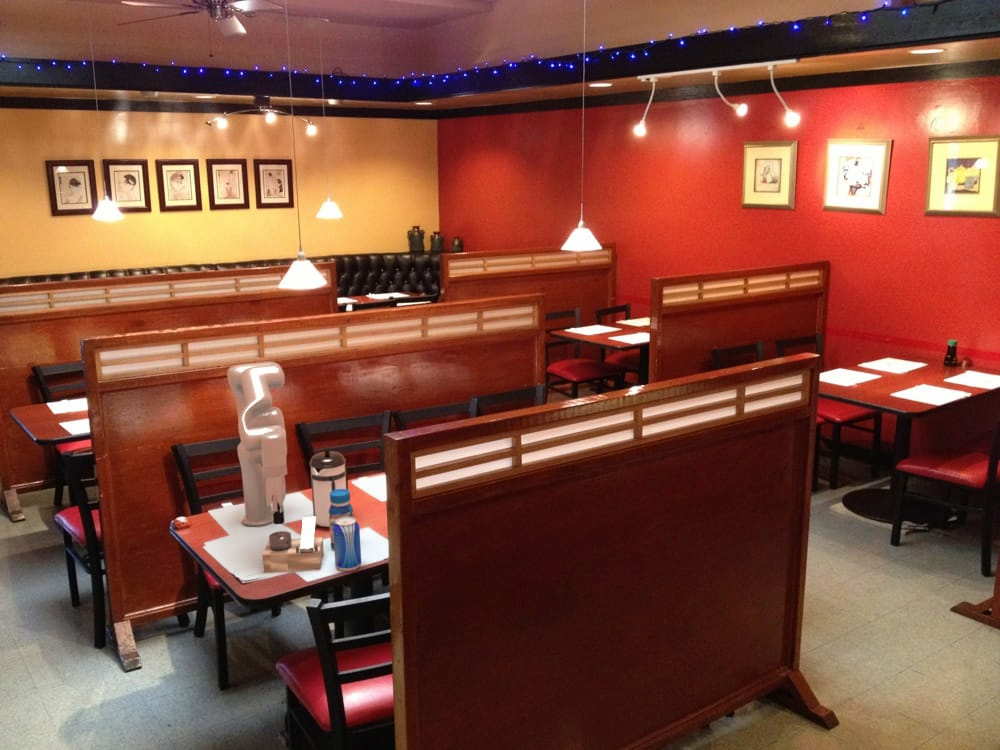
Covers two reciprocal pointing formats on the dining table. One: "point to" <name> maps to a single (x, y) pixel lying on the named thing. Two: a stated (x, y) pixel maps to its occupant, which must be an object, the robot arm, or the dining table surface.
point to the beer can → (347, 544)
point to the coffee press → (326, 482)
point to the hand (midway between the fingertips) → (279, 523)
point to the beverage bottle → (339, 508)
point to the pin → (280, 541)
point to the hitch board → (293, 557)
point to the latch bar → (307, 534)
